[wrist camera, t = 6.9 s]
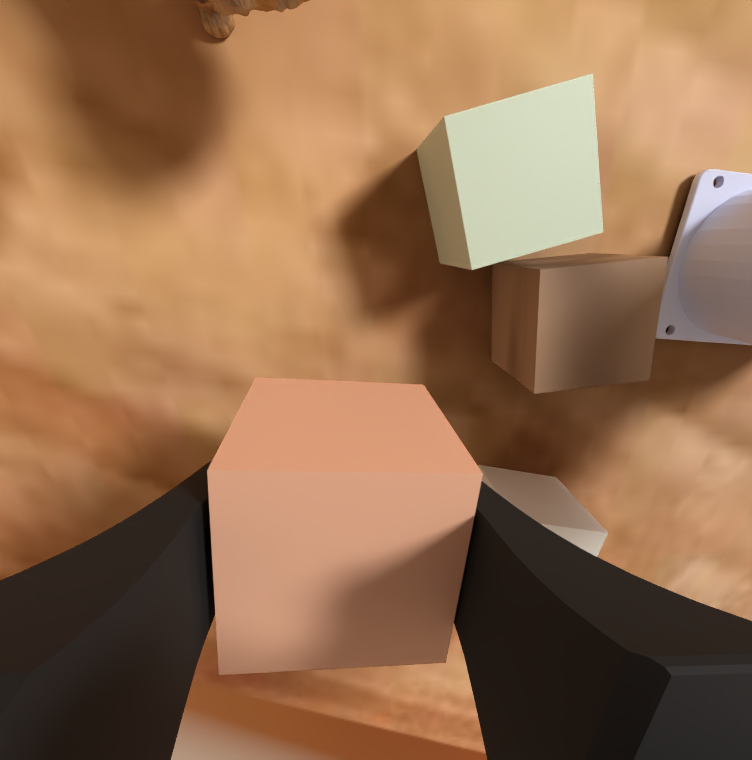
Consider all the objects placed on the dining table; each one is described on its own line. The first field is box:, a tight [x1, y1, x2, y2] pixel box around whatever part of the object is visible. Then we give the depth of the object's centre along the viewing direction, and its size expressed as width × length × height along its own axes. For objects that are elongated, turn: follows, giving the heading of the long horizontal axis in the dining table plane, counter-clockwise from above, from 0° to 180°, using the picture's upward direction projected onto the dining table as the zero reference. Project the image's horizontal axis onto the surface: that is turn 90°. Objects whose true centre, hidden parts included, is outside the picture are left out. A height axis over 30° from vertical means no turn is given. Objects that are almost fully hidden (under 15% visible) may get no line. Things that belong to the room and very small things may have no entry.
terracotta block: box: [207, 377, 483, 675], centre depth 10 cm, size 5×5×5 cm
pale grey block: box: [478, 465, 608, 557], centre depth 22 cm, size 5×5×5 cm
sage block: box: [416, 73, 603, 270], centre depth 16 cm, size 5×5×5 cm
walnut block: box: [491, 253, 668, 394], centre depth 18 cm, size 5×5×5 cm
